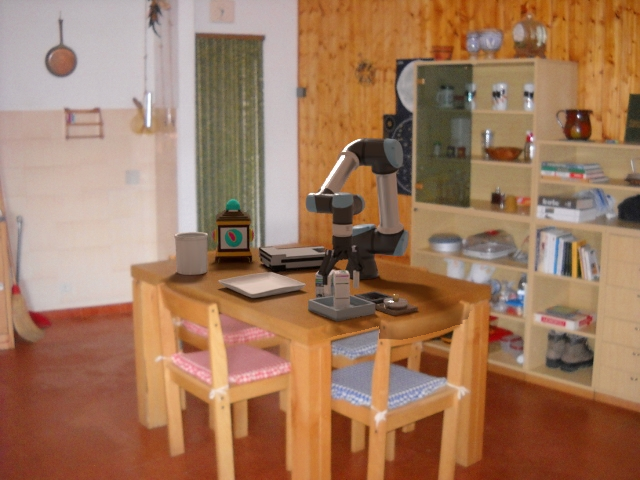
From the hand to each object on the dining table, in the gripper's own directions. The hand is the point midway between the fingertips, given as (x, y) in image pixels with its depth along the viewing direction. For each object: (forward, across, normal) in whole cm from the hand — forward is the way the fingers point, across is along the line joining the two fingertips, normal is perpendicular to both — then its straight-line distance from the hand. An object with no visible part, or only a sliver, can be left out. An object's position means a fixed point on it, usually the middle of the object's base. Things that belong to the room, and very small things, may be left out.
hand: (341, 290), depth 290 cm
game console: (+9, +31, +75) cm, 82 cm away
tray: (+8, 0, 0) cm, 8 cm away
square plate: (+9, -7, +46) cm, 47 cm away
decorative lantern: (+8, +12, +104) cm, 105 cm away
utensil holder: (+8, -17, +91) cm, 93 cm away
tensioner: (+8, +19, -3) cm, 21 cm away
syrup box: (+7, 0, 0) cm, 7 cm away
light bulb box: (+8, +7, +20) cm, 23 cm away
